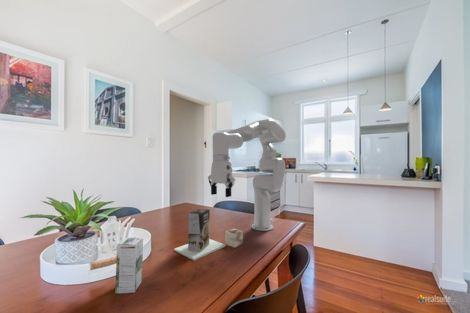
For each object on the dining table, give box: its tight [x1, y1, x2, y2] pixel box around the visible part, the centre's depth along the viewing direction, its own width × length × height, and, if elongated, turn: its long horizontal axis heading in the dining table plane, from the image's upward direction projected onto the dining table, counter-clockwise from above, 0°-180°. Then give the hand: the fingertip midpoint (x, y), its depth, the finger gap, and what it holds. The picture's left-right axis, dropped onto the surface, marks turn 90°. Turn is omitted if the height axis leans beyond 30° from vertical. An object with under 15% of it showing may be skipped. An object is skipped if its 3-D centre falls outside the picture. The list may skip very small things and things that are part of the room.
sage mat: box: [173, 238, 226, 261], centre depth 92 cm, size 18×14×1 cm
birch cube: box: [224, 228, 244, 249], centre depth 98 cm, size 6×6×6 cm
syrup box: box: [114, 237, 144, 295], centre depth 64 cm, size 6×6×14 cm
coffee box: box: [187, 208, 211, 252], centre depth 92 cm, size 9×6×16 cm
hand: (220, 195), depth 96 cm, fingers open, 9 cm apart
